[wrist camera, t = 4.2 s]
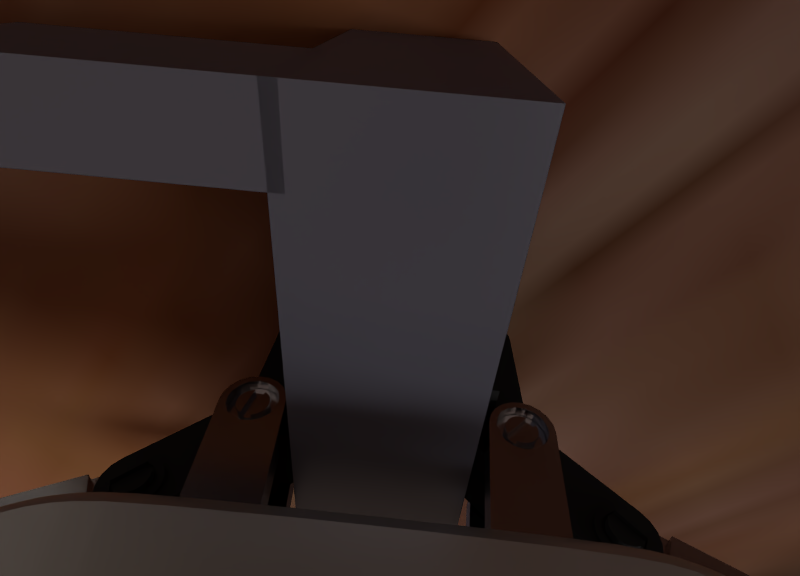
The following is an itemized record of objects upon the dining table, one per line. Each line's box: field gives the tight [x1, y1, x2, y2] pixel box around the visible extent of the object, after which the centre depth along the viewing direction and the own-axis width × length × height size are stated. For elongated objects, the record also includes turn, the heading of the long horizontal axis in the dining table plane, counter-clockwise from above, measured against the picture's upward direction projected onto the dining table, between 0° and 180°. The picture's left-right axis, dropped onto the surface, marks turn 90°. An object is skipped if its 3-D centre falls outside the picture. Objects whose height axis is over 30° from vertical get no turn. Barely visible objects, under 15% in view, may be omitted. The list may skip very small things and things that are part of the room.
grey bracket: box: [0, 22, 565, 525], centre depth 11 cm, size 7×14×6 cm, turn 176°
